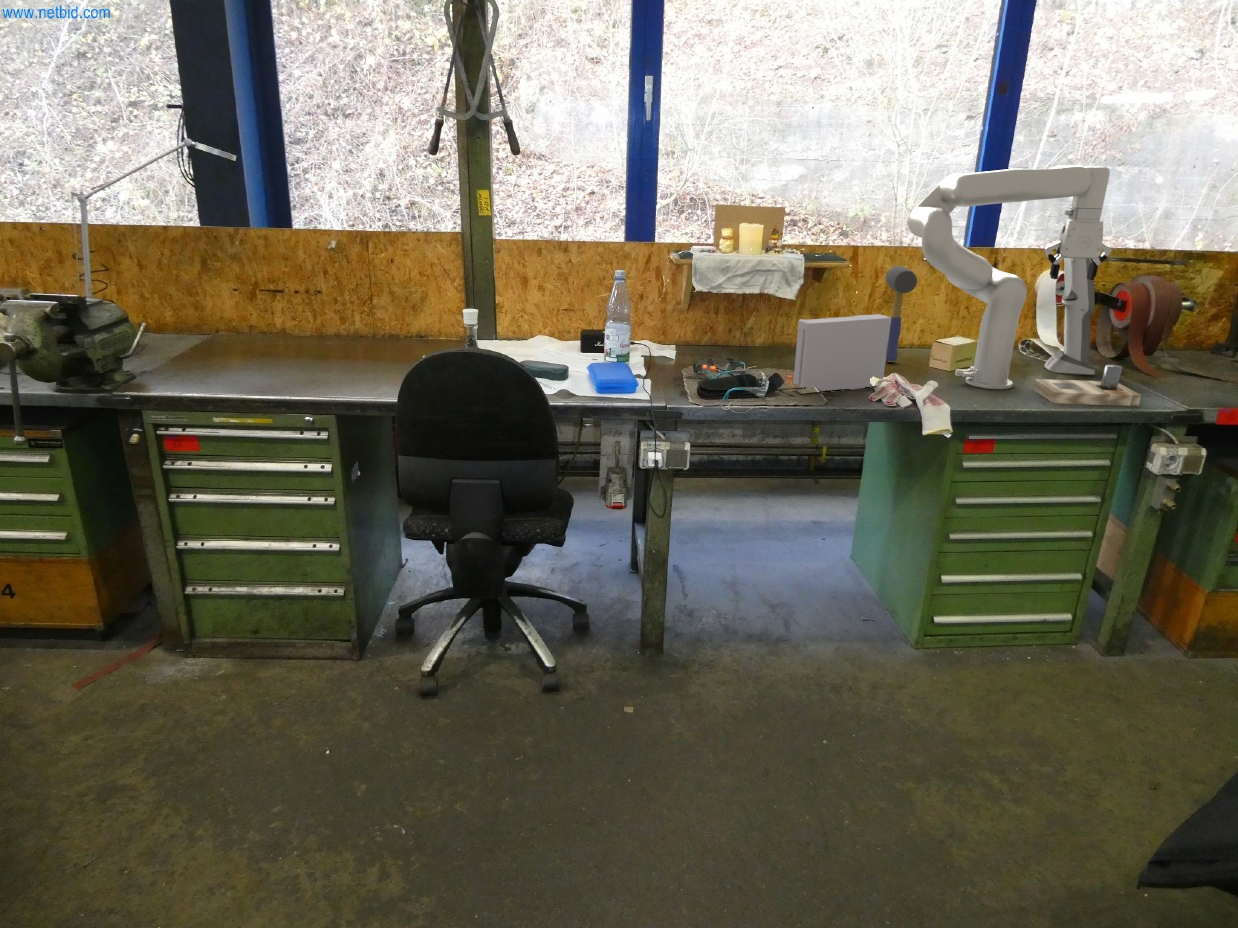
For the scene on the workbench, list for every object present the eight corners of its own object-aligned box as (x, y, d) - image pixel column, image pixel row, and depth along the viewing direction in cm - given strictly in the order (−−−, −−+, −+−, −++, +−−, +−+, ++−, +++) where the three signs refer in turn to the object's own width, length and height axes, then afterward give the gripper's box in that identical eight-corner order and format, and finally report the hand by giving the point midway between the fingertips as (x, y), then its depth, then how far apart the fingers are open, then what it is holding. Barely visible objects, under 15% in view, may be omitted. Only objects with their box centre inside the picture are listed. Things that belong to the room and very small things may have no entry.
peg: (1101, 400, 220) (1109, 367, 217) (1095, 396, 224) (1102, 364, 221) (1117, 400, 220) (1124, 368, 217) (1110, 396, 224) (1117, 364, 220)
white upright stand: (1040, 364, 258) (1062, 252, 246) (1084, 366, 256) (1108, 253, 243) (1050, 373, 248) (1074, 256, 235) (1096, 375, 245) (1122, 258, 232)
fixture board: (1052, 403, 217) (1054, 392, 216) (1033, 389, 230) (1035, 378, 229) (1138, 406, 215) (1141, 395, 214) (1113, 392, 228) (1116, 381, 227)
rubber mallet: (873, 357, 265) (885, 264, 254) (897, 358, 265) (909, 264, 254) (883, 366, 254) (895, 269, 243) (907, 367, 253) (920, 270, 242)
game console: (789, 389, 228) (795, 319, 220) (869, 381, 237) (878, 314, 230) (800, 395, 222) (807, 323, 215) (882, 386, 232) (891, 317, 224)
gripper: (1057, 215, 215) (1044, 280, 221) (1125, 216, 214) (1110, 281, 220) (1046, 213, 222) (1034, 276, 228) (1112, 214, 221) (1098, 278, 227)
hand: (1071, 279), depth 224 cm, fingers open, 9 cm apart
